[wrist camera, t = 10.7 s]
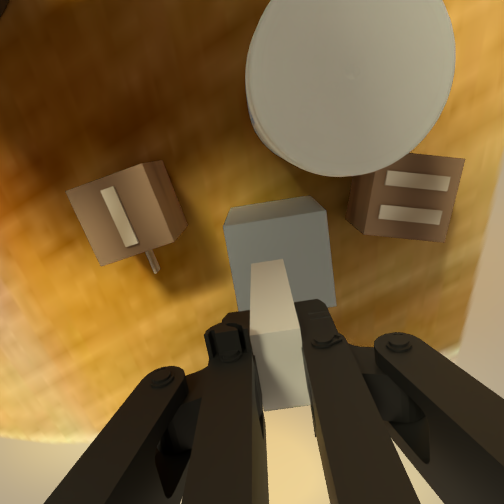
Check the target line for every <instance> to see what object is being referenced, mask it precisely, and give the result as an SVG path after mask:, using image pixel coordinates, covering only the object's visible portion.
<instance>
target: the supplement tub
mask: <svg viewBox="0 0 504 504" xmlns="http://www.w3.org/2000/svg"><path fill="white" fill-rule="evenodd" d="M454 71H455V39H454V33H453V28H452V24H451V20H450V17H449V15H448V12H447V10H446V7H445V5H444V3H443V1H442V0H271V1H270V2H269V4H268V5H267V7H266V9H265V10H264V12H263V14H262V16H261V18H260V20H259V23H258V25H257V28H256V30H255V32H254V34H253V37H252V40H251V43H250V46H249V50H248V55H247V60H246V71H245V87H246V97H247V104H248V110H249V116H250V120H251V123H252V126H253V128H254V130H255V132H256V134H257V135H258V137H259V138H260V140H261V141H262V142H263V143H264V145H265V146H266V147H267V148H268V149H270V150H271V151H272V152H273V153H275V154H276V155H278V156H279V157H281V158H283V159H284V160H286V161H288V162H289V163H291V164H293V165H295V166H297V167H299V168H301V169H303V170H306V171H308V172H311V173H314V174H319V175H323V176H331V177H345V176H356V175H363V174H367V173H371V172H374V171H377V170H380V169H382V168H385V167H387V166H389V165H391V164H393V163H394V162H396V161H398V160H399V159H401V158H402V157H404V156H405V155H406V154H408V153H409V152H410V151H411V150H413V149H414V148H415V147H416V146H417V145H418V144H419V143H420V142H421V141H422V140H423V139H424V138H425V136H426V135H427V134H428V133H429V131H430V130H431V129H432V127H433V126H434V125H435V123H436V121H437V120H438V118H439V116H440V114H441V112H442V110H443V108H444V106H445V104H446V102H447V99H448V96H449V93H450V90H451V86H452V82H453V77H454Z"/></svg>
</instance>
